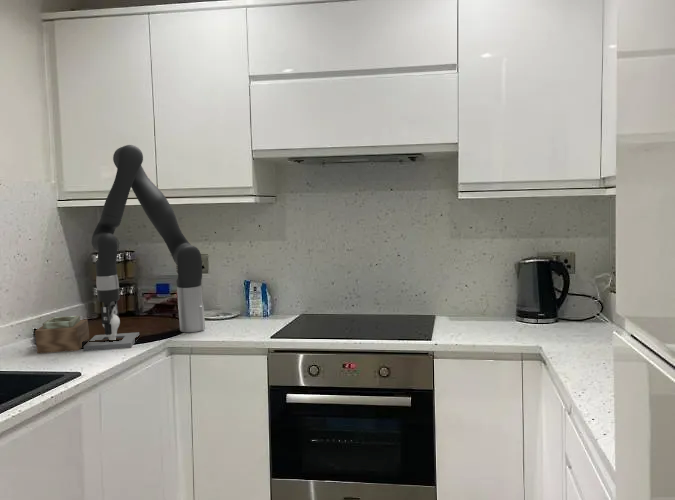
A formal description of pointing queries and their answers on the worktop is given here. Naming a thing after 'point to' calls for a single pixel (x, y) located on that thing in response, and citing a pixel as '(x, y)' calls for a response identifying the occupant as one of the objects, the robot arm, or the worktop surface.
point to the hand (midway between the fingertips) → (111, 331)
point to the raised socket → (62, 334)
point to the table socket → (124, 343)
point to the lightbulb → (114, 327)
